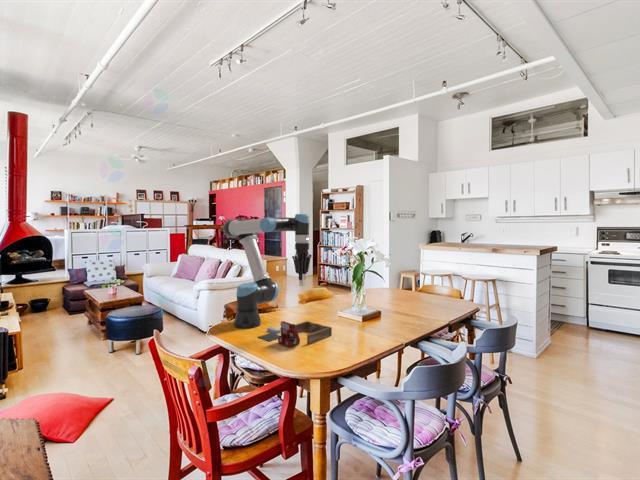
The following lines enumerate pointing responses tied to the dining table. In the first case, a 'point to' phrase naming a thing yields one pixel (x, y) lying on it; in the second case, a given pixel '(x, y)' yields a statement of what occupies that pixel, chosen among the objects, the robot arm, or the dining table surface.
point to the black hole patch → (269, 337)
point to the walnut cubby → (318, 330)
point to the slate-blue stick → (273, 330)
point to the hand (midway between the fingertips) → (302, 285)
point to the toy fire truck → (288, 334)
